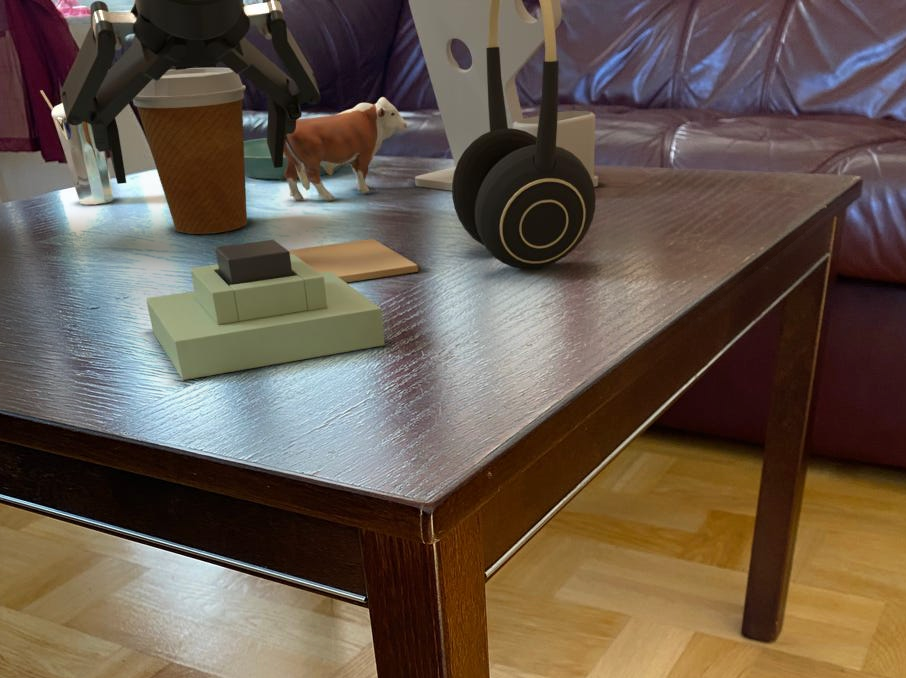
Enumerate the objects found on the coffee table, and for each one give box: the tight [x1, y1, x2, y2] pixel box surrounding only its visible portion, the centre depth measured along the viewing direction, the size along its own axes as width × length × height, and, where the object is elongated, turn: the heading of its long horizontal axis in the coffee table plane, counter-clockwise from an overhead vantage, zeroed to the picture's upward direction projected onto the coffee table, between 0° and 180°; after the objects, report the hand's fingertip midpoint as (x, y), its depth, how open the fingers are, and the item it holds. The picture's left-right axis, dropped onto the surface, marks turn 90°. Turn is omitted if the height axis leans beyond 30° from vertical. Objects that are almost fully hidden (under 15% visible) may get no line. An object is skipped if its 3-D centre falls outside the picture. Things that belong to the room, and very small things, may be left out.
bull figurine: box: [284, 96, 408, 202], centre depth 99 cm, size 4×13×8 cm, turn 124°
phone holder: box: [408, 0, 599, 192], centre depth 97 cm, size 17×10×18 cm, turn 49°
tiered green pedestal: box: [145, 254, 386, 381], centre depth 61 cm, size 10×12×4 cm
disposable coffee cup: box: [132, 67, 248, 235], centre depth 87 cm, size 10×10×12 cm
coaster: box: [287, 238, 419, 283], centre depth 77 cm, size 10×10×1 cm
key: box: [214, 239, 293, 286], centre depth 60 cm, size 4×4×2 cm
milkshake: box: [39, 89, 114, 206], centre depth 100 cm, size 5×5×10 cm
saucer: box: [244, 137, 344, 180], centre depth 113 cm, size 15×15×3 cm
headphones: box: [451, 0, 597, 270], centre depth 71 cm, size 9×15×20 cm, turn 14°
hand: (198, 162), depth 90 cm, fingers open, 13 cm apart
